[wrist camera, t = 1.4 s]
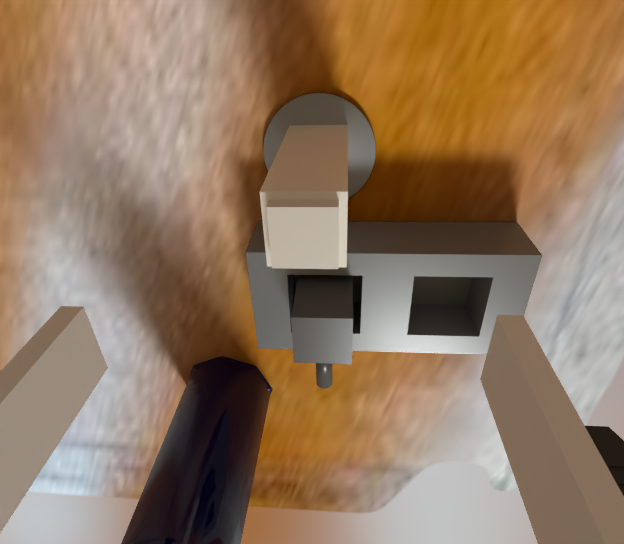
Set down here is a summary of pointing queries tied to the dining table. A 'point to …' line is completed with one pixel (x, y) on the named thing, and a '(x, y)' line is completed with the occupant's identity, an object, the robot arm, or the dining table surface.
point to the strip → (395, 291)
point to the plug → (307, 199)
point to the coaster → (326, 113)
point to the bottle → (205, 459)
